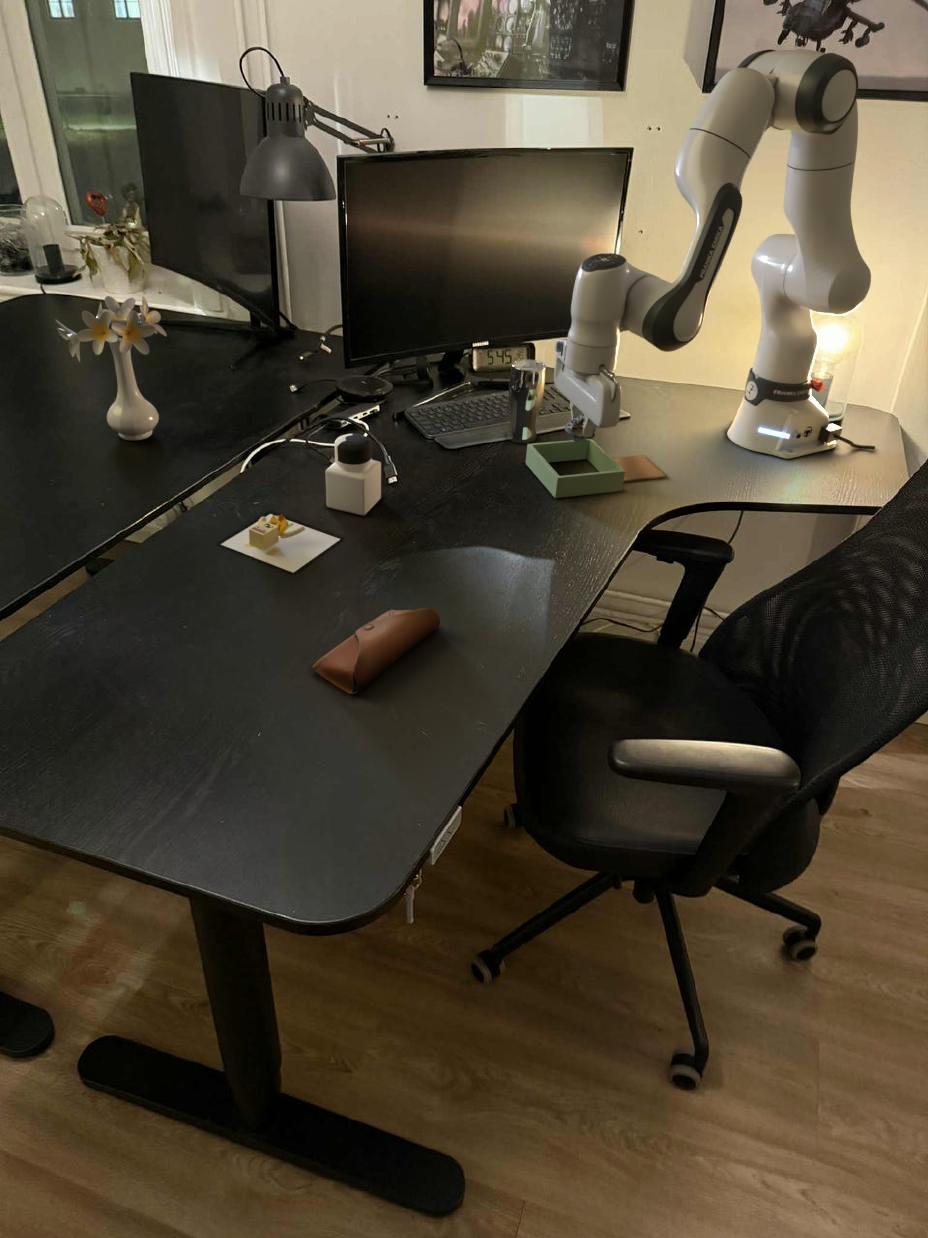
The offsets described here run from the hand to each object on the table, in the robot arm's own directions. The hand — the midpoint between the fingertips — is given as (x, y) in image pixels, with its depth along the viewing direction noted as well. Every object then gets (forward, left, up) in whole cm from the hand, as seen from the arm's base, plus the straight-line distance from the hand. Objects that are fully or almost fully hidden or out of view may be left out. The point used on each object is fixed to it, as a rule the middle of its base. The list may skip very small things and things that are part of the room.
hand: (581, 430), depth 157 cm
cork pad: (-13, 0, -9) cm, 16 cm away
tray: (0, 0, -9) cm, 9 cm away
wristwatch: (0, 0, -2) cm, 2 cm away
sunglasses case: (+48, +43, -9) cm, 65 cm away
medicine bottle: (+42, +2, -9) cm, 44 cm away
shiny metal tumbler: (+3, -18, -9) cm, 21 cm away
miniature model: (+56, +12, -9) cm, 58 cm away
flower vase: (+77, -33, -9) cm, 85 cm away
